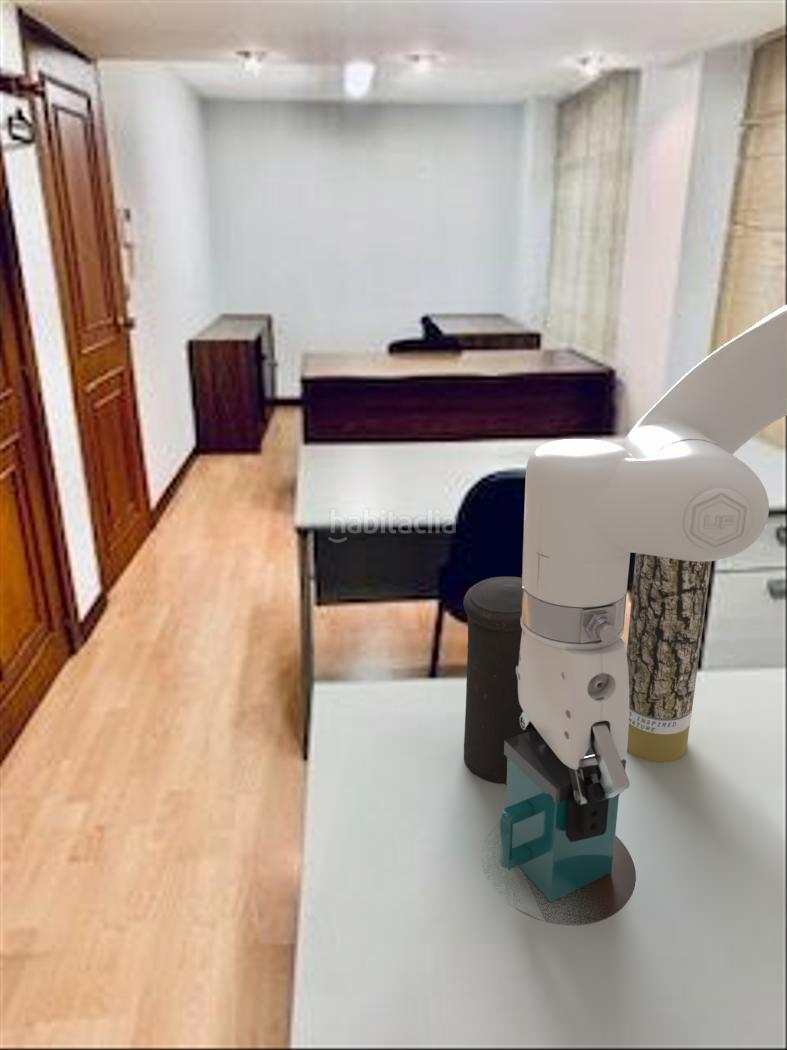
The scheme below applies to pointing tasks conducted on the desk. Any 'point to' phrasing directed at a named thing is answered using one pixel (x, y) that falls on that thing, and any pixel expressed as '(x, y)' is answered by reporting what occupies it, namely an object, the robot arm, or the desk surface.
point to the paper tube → (664, 653)
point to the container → (492, 675)
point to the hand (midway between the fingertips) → (560, 799)
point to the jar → (549, 820)
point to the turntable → (625, 865)
